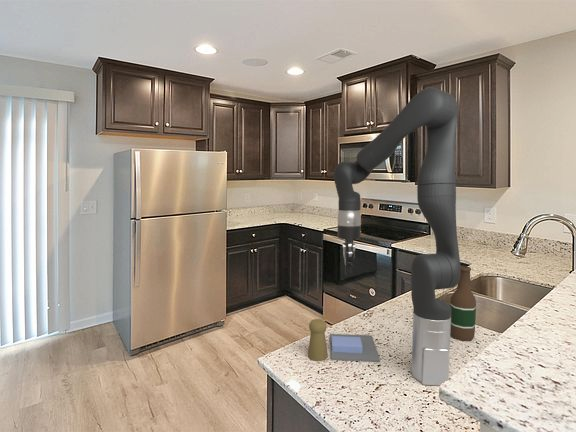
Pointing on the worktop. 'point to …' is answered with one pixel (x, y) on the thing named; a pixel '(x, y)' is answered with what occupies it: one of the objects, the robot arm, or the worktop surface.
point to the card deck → (346, 344)
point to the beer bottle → (463, 308)
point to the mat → (367, 353)
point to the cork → (317, 341)
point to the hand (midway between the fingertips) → (348, 275)
